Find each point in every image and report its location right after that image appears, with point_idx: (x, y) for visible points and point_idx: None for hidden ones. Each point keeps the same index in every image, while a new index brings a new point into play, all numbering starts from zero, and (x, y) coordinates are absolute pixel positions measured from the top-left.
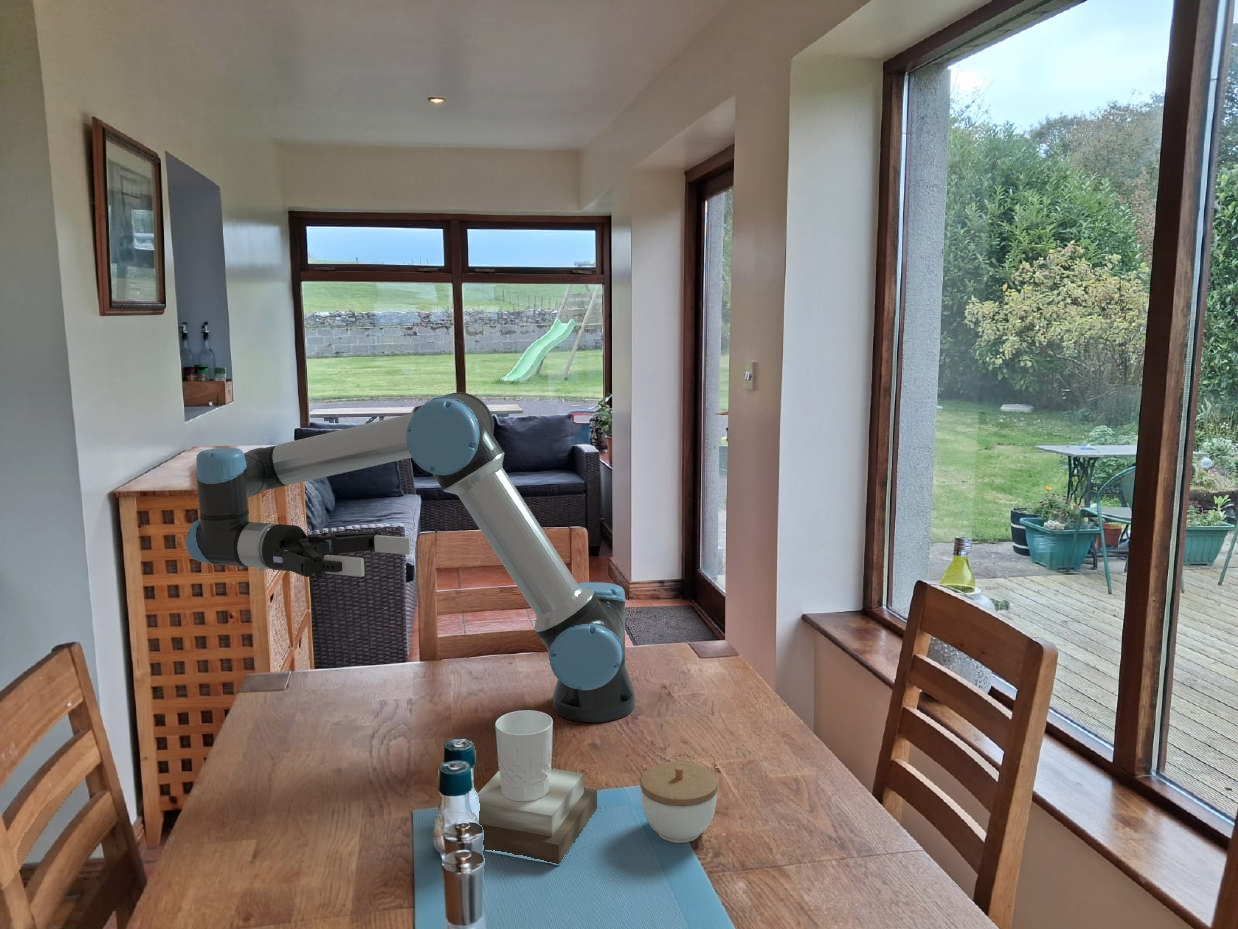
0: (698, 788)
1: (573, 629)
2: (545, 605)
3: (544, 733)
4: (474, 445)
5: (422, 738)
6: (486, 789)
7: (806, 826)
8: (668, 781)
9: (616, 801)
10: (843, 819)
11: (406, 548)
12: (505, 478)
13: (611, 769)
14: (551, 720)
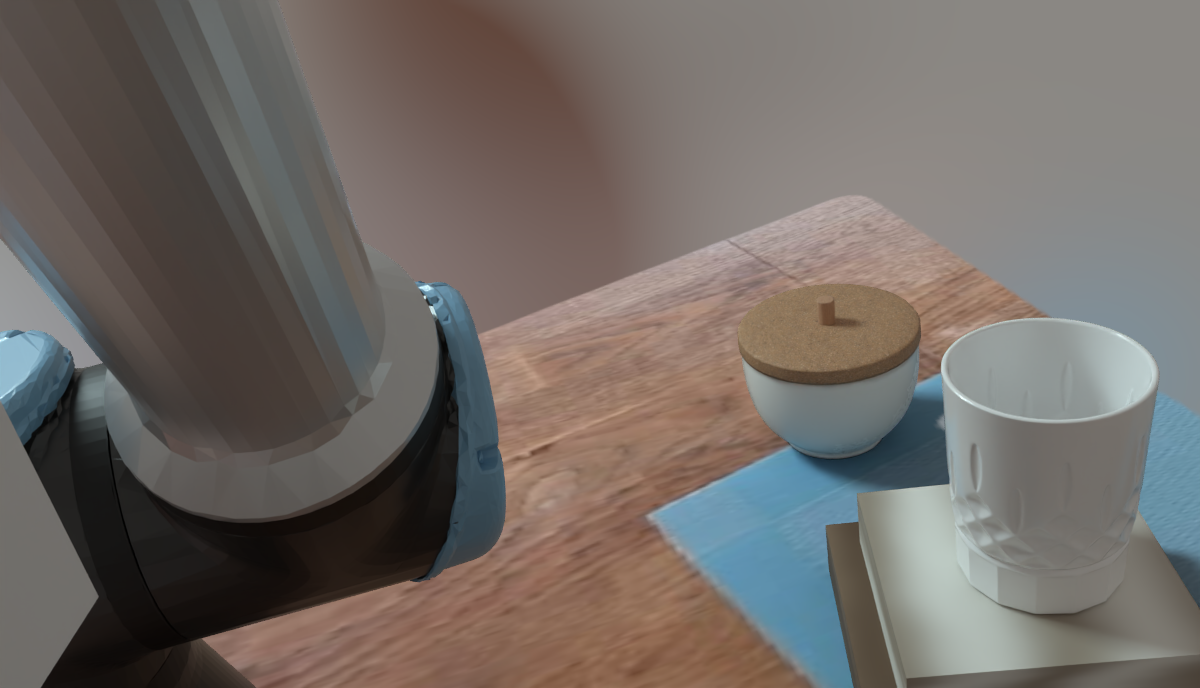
0: (850, 293)
1: (462, 315)
2: (377, 313)
3: (1055, 327)
4: None
5: None
6: (1121, 646)
7: (715, 318)
8: (851, 328)
9: (770, 550)
10: (670, 296)
11: (39, 551)
12: None
13: (605, 614)
14: (981, 328)
